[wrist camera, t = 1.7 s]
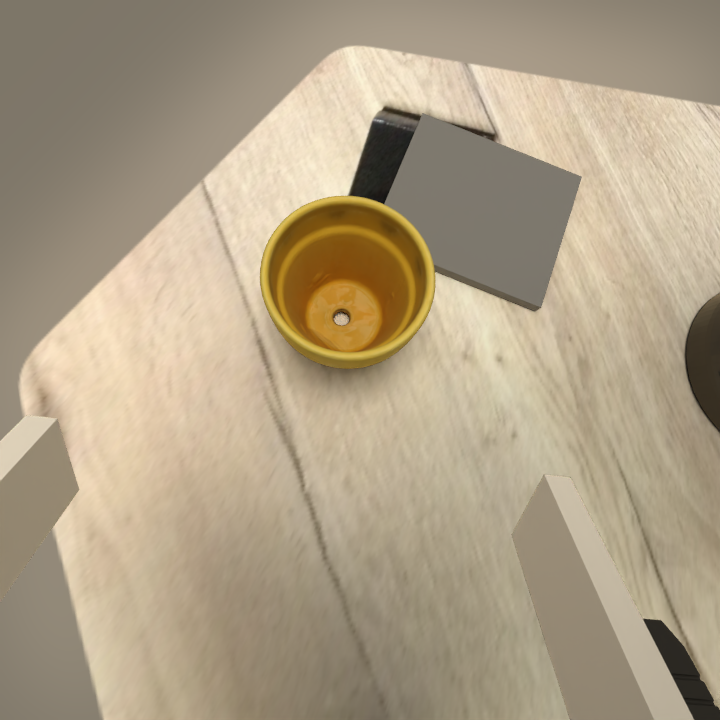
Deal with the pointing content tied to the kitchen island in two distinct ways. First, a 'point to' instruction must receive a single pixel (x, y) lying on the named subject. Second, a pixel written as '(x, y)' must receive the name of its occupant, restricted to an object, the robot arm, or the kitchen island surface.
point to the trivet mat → (484, 210)
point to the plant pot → (347, 281)
